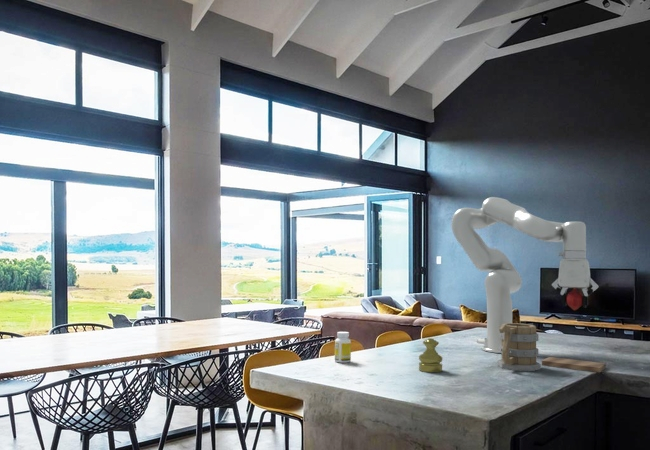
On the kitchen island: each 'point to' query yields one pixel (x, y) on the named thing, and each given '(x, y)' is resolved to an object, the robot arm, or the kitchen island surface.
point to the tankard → (518, 347)
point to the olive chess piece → (430, 357)
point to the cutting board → (574, 364)
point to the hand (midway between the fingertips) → (574, 306)
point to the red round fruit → (574, 299)
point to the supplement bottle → (342, 348)
